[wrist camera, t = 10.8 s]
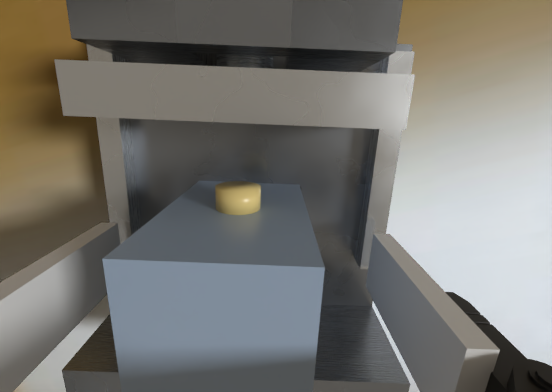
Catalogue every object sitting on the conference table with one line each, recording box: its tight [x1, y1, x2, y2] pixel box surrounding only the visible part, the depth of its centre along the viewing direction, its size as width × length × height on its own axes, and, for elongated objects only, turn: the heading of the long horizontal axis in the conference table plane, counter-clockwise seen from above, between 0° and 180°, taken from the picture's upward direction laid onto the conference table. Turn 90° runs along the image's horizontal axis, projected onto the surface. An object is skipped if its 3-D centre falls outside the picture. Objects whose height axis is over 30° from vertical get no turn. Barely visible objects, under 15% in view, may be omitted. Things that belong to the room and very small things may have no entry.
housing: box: [102, 181, 325, 392], centre depth 11 cm, size 5×7×8 cm
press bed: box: [62, 0, 414, 392], centre depth 12 cm, size 14×15×7 cm
